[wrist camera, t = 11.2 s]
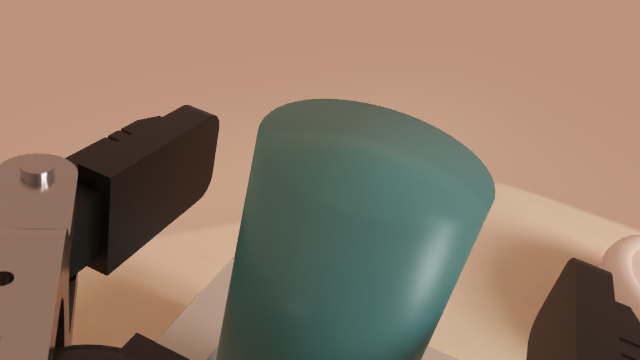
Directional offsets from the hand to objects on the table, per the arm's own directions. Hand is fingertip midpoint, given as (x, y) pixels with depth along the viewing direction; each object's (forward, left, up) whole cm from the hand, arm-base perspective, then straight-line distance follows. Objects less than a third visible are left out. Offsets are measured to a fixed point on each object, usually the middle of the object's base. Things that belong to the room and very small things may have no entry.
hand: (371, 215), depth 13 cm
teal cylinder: (0, +2, -8) cm, 9 cm away
